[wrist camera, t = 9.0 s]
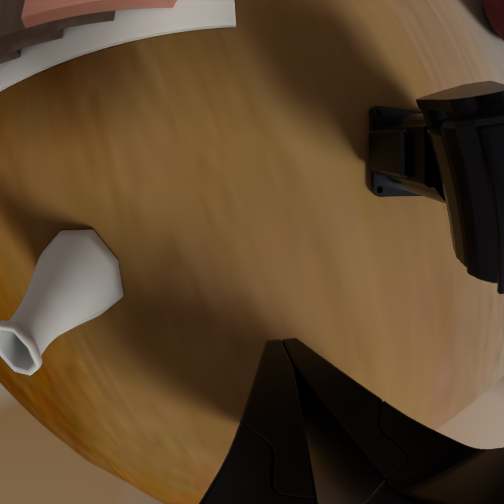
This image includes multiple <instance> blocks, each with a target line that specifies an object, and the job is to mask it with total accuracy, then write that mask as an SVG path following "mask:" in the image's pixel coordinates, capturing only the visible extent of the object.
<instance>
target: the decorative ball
mask: <svg viewBox="0 0 504 504" xmlns="http://www.w3.org/2000/svg"><path fill="white" fill-rule="evenodd" d="M482 1H483V6H484V10H485V13H486V16H487V18H488V20H489V22H490V24H491V25H492V27H493V29H494V30H495V31H496V33H497V34H498V35H499V36H500V37H501V38H502V39H503V41H504V0H482Z"/></svg>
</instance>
